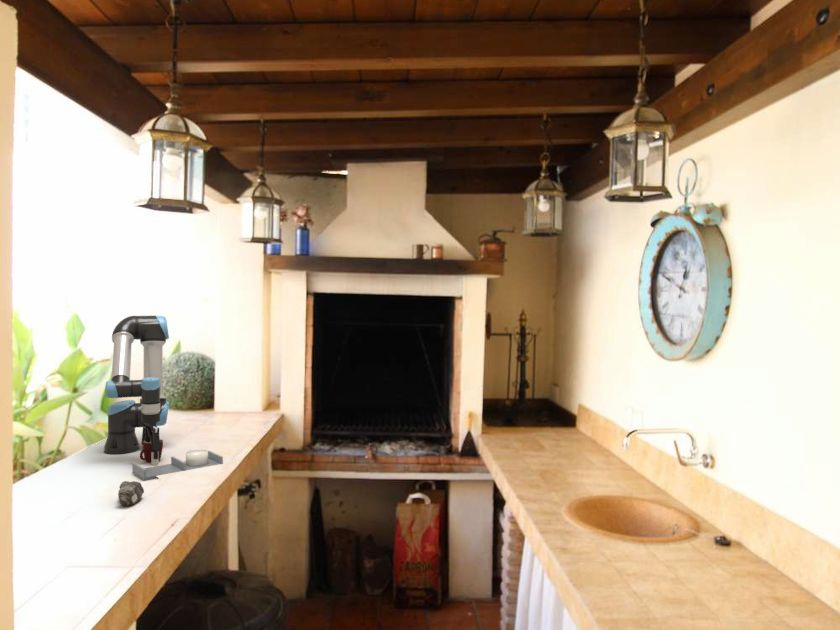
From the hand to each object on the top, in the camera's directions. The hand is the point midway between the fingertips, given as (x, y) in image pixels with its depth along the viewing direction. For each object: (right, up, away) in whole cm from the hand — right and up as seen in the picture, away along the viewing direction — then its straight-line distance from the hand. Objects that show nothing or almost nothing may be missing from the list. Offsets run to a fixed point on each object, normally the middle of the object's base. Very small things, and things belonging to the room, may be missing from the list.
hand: (150, 463), depth 270 cm
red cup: (0, 0, 0) cm, 0 cm away
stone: (+14, -2, -48) cm, 50 cm away
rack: (+15, -1, -8) cm, 17 cm away
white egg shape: (+21, +1, -2) cm, 21 cm away
